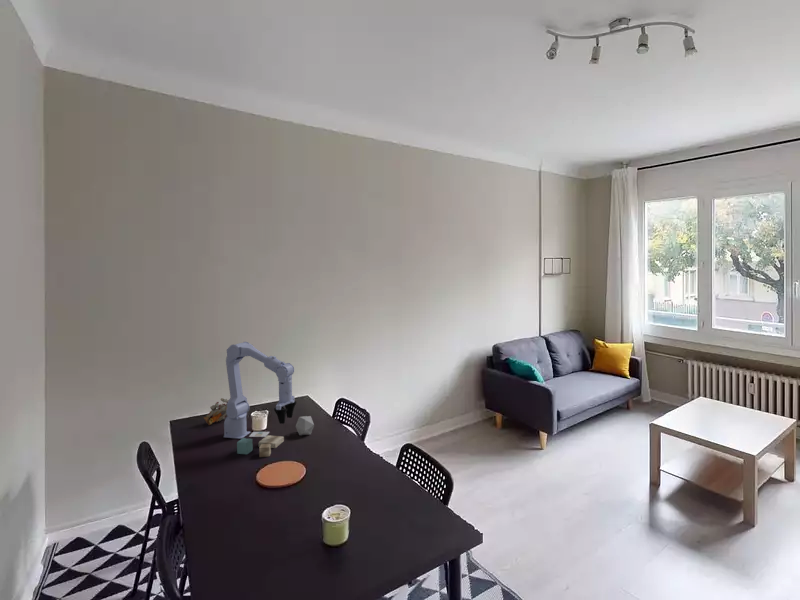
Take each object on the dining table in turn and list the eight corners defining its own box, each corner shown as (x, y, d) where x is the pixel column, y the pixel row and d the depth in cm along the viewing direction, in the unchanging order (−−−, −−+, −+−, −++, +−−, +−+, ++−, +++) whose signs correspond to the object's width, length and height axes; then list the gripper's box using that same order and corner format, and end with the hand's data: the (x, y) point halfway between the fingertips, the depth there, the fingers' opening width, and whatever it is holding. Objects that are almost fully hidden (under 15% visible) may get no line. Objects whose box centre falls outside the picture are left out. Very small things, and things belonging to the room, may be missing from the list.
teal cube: (237, 453, 179) (237, 442, 179) (243, 449, 183) (242, 438, 183) (246, 454, 178) (246, 443, 178) (252, 450, 183) (252, 438, 182)
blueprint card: (248, 436, 197) (248, 436, 197) (253, 431, 203) (253, 431, 203) (265, 436, 197) (265, 436, 197) (269, 432, 203) (269, 431, 203)
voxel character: (207, 425, 216) (233, 407, 225) (217, 435, 211) (243, 415, 220) (199, 411, 210) (226, 392, 219) (209, 420, 204) (236, 401, 213)
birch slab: (258, 447, 186) (258, 442, 186) (267, 440, 194) (267, 435, 194) (275, 449, 185) (275, 443, 184) (283, 441, 192) (283, 436, 192)
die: (307, 440, 195) (318, 420, 199) (290, 430, 195) (302, 411, 198) (307, 439, 203) (318, 420, 207) (291, 430, 203) (302, 411, 206)
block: (259, 457, 176) (259, 447, 175) (261, 453, 180) (260, 444, 179) (269, 456, 176) (269, 447, 176) (270, 452, 180) (270, 443, 180)
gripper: (286, 396, 182) (286, 426, 183) (300, 387, 196) (300, 415, 197) (271, 395, 183) (271, 425, 184) (286, 386, 198) (286, 414, 199)
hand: (285, 420), depth 191 cm, fingers open, 7 cm apart
